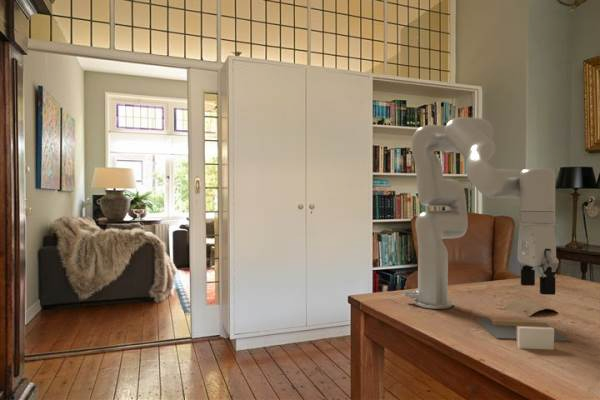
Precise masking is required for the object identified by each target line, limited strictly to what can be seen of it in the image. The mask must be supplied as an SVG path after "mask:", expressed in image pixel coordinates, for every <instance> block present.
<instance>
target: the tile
mask: <svg viewBox="0 0 600 400" xmlns="http://www.w3.org/2000/svg"><path fill="white" fill-rule="evenodd" d="M554 330H555V329H554V328H553V327H551V326H549V327H534V326H517V333H516V340H515V341H516V342H515V343H516V344H515V345H516V347H517V348H518V349H525V350H526V349H528V350H529V349H531V350H555V341H554Z"/></svg>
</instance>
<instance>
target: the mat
mask: <svg viewBox="0 0 600 400" xmlns="http://www.w3.org/2000/svg"><path fill="white" fill-rule="evenodd" d="M475 320H476V321H477V322H478V323H479V324H480V325H481V326H482V327H484V328H485V330H487V332H489V333H490V334H491V335H492V336H493V337H494V338H495V339H496V340H510V341H511V340H514V341H516V333H517V326H534V327H550V326H549V325H548V324H547V321H544V320H541V319H540V320H537V319H535V320H534V319H533V320H532V319H510V318H509V319H506V318H505V319H504V318H503V319H502V318H475ZM554 342H568V343H569V342H570V343H572V340H571V339H570V338H568V337H567V336H565V335H563V334H562V333H560V332H558V331H557V330H555V329H554Z"/></svg>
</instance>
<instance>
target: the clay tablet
mask: <svg viewBox="0 0 600 400" xmlns="http://www.w3.org/2000/svg"><path fill="white" fill-rule="evenodd" d="M503 309H504V310H508V311H512V312H515V313H517V314H520V315H522V316H525V317H527V318H528V317H529V318H530V317H531V316H532V315H533V314H536V313H537V312H539V311H543V310H549V311H552V312H555V313H558V312H557V311H556V310H555V309H553V308H551V307H547V306H544V305H540V304H538V303H534V302H530V301H529V300H522V299H519V300H514V301H511V302H509V303H508V304H507V305H506V306H505V307H504V308H503Z"/></svg>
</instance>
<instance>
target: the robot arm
mask: <svg viewBox="0 0 600 400" xmlns="http://www.w3.org/2000/svg"><path fill="white" fill-rule="evenodd" d="M493 137H494V128H493V125H492V124H491V123H490V121H488V120H487V119H484V118H479V117H478V118H477V117H467V116H464V117H463V116H462V117H461V116H460V117H453V118H452V119H450V120H449V121H448V122H447V123H446V125H440V124H429V125H428V124H426V125H422V126H420V127H419V128H417V129H416V130H415V132H414V133H413V136H412V138H411V154H412V157H413V160H414V164H415V173H416V174H415V175H416V176H415V177H416V188H417V195H418V196H417V197H418V198H417V199H418V201H419V204H421V205H422V206H425V207H429V208H430V207H444V210H440V209H439V210H437V209H436V210H425V211H423V212H421V213H419V214H417V216H416V219H415V223H414V224H415V231H416V238H417V248H418V249H417V250H418V251H417V252H418V253H417V263H418V265H417V266H418V268H417V288H415V290H412V291H409V290H406V291H405V290H404V291H403V297H404V298H408V299H413V301H412V303H413V304H414V305H416V306H418V307H421V308H425V309H433V310H443V309H450V308H452V307H453V301H452V300H450V299H448V296H449V294H448V286H449V285H448V284H449V283H448V279H449V277H448V276H449V275H448V274H449V254H448V253H449V252H448V249H447V247H446V244H445V243H444V240H445V239H459V238H461V237H463V236H465V235H466V233H467V231H468V226H469V225H468V224H469V223H468V222H469V219H468V209H467V208H468V207H467V197H466V192H465V191H466V190H465V187H464V186H463V184H462V183H461V182H459V180H457V179H453V178H444V175H443V166H442V165H443V164H442V162H441V161H440V159H439V157H438V156H437V155H436V154H435V152H452V153H455V152H459V154H460V155H461V156H462V157H463V158H464V159H465V160H466V161H465V171H466V176H467V179H468V180H469V182H471V184H472V185H473V186H474V187H475V189H476V190H477V191H479V192H480V193H481V194H482V195H484V196H485V197H488V198H491V199H519V201H518V202H519V220H518V221H519V230H518V235H517V236H518V237H517V254H516V255H517V256H516V257H517V258H516V259H517V261H518V262H519V264H520V265H519V268H520V285H521V286H523V287H524V286H525V287H526V286H527V287H528V286H530V287H531V286H532V287H533V286H535V285H536V269H534V268H537V267H538V270H539V272H540V275H541V276H539V294H541V295H544V296H545V295H546V296H547V295H550V296H551V295H552V296H553V295H555V294H556V278H557V272H558V270H559V269H558V267H559V263H560V260H559V259H558V257H557V245H556V243H557V242H556V235H555V234H556V233H555V226H556V173H555V171H554V169H553V168H549V167H529V168H524V169H516V168H514V169H513V168H509V169H508V168H495V167H493V166H492V165H491V164H490V163H489V161H490V159H491V158H492V157H493V155H494V154H495V151H496V144H495V142H494V141H493V140H492V139H493Z"/></svg>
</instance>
